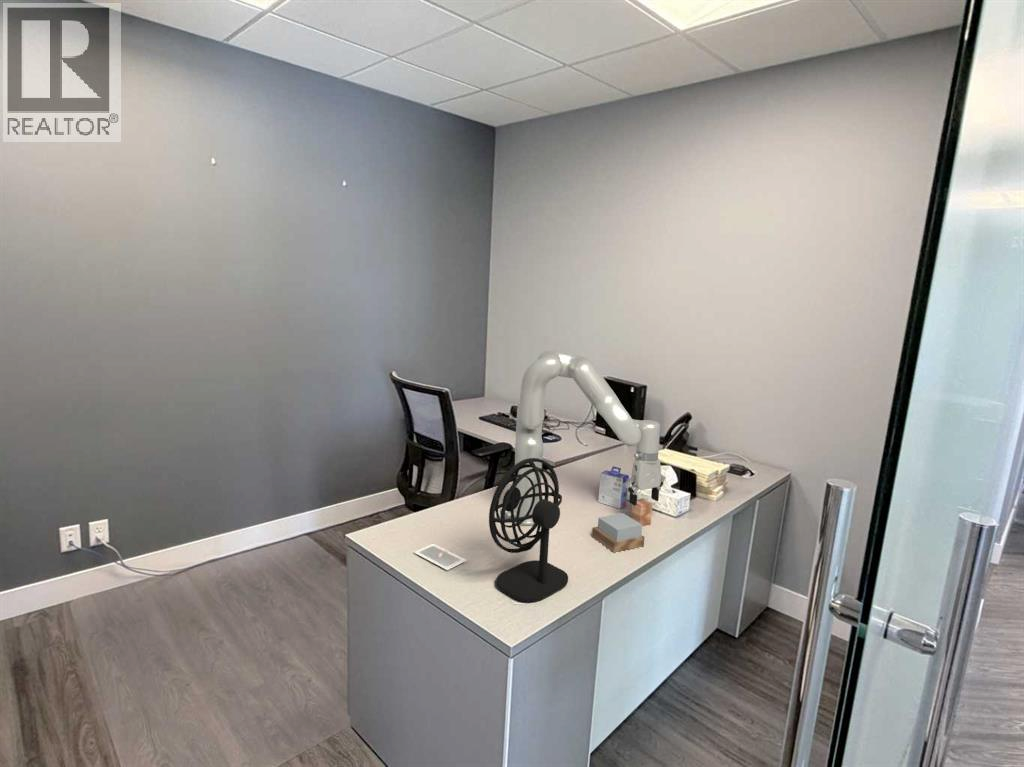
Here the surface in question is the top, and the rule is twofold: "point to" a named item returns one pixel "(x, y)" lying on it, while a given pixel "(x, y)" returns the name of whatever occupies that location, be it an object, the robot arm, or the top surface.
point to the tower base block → (617, 546)
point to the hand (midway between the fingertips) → (643, 501)
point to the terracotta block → (642, 512)
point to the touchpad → (440, 556)
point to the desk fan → (528, 533)
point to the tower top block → (619, 527)
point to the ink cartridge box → (613, 488)
